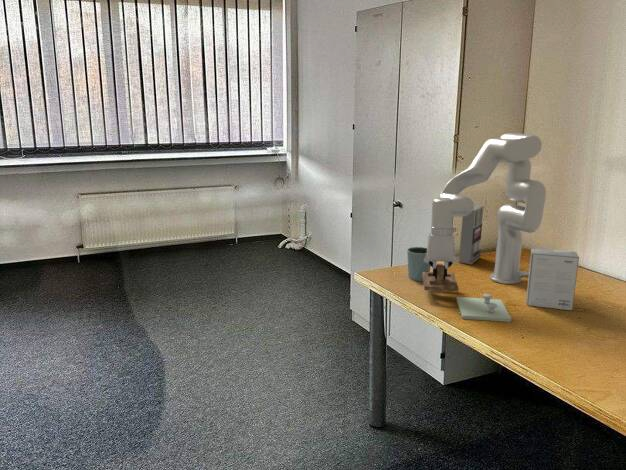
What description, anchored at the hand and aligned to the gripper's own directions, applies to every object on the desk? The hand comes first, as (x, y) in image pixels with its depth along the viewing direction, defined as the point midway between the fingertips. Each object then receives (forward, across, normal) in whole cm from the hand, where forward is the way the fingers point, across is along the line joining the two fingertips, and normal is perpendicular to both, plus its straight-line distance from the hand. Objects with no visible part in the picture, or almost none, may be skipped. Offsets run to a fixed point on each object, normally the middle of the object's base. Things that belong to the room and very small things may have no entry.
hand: (439, 277), depth 208 cm
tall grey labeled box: (+9, -18, -49) cm, 53 cm away
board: (+7, -14, +14) cm, 21 cm away
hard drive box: (+8, -39, +4) cm, 40 cm away
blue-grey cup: (+7, +7, -19) cm, 22 cm away
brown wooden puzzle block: (+2, 0, 0) cm, 2 cm away
